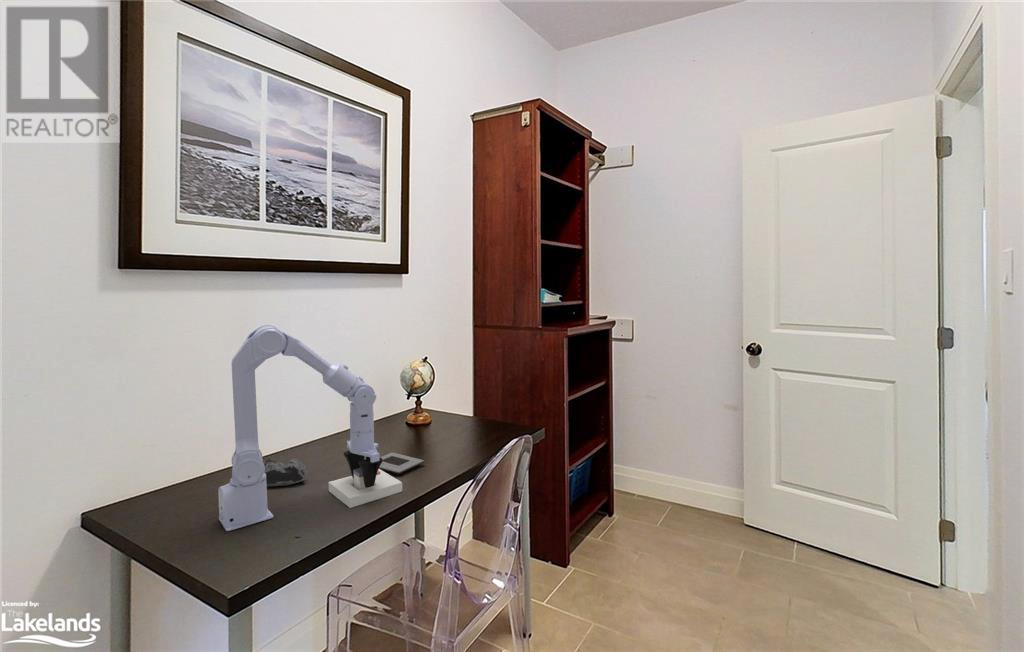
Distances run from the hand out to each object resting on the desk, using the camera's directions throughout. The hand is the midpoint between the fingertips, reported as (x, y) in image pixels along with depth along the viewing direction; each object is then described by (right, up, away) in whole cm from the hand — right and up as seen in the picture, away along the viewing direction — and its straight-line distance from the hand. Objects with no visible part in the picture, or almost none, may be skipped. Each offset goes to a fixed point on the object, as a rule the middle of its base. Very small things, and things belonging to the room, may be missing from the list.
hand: (363, 482), depth 122 cm
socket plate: (0, -3, +2) cm, 3 cm away
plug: (0, -3, 0) cm, 3 cm away
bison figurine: (-24, -3, +8) cm, 25 cm away
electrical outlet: (+4, -2, +18) cm, 19 cm away
